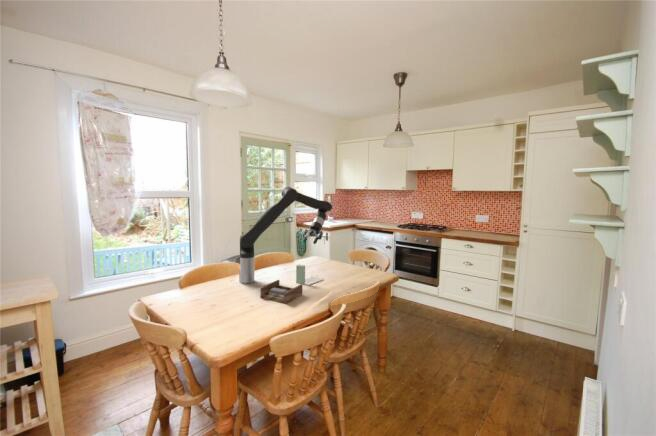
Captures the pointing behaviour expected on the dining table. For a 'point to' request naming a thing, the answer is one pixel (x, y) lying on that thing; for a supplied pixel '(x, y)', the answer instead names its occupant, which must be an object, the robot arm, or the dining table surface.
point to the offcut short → (278, 291)
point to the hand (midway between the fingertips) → (308, 242)
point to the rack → (288, 296)
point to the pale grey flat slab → (312, 280)
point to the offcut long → (276, 295)
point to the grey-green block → (300, 274)
